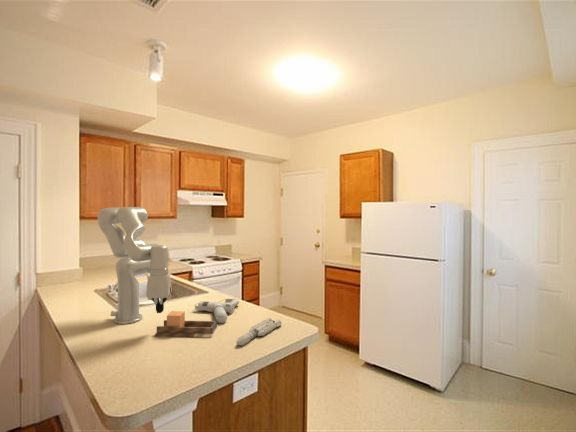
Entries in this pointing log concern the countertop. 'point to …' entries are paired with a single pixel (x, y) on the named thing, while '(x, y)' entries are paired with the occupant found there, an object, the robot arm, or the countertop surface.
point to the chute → (188, 329)
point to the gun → (218, 308)
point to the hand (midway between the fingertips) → (159, 312)
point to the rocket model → (258, 330)
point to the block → (176, 319)
